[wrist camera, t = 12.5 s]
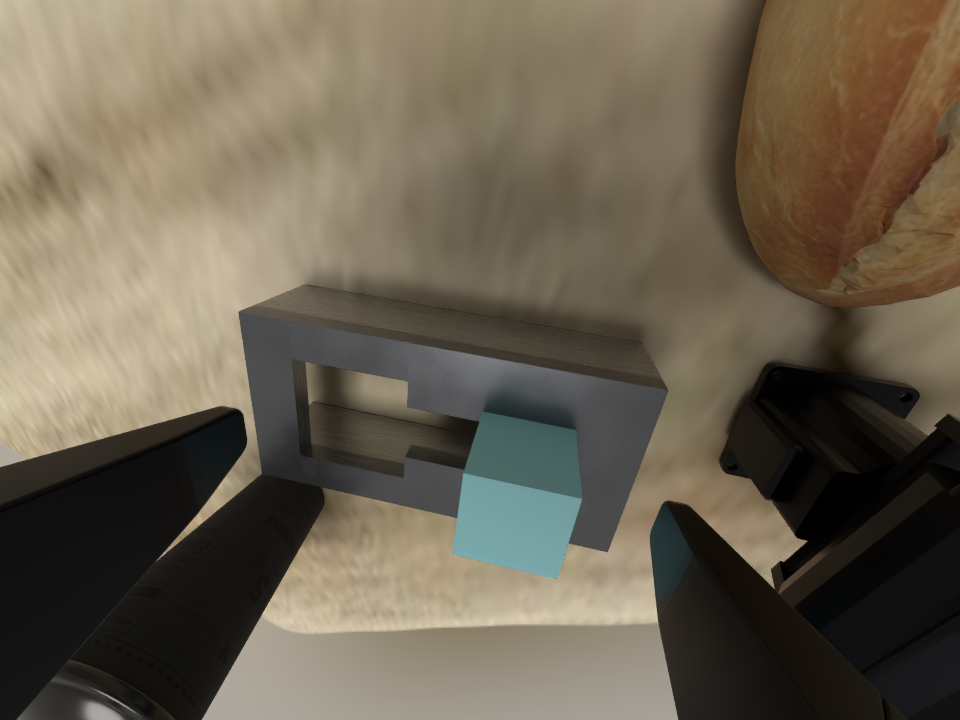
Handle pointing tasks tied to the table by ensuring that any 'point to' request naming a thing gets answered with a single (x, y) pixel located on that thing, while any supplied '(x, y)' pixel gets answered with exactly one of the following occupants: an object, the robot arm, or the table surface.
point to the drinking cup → (187, 614)
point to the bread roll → (854, 149)
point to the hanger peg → (519, 495)
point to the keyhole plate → (443, 398)
